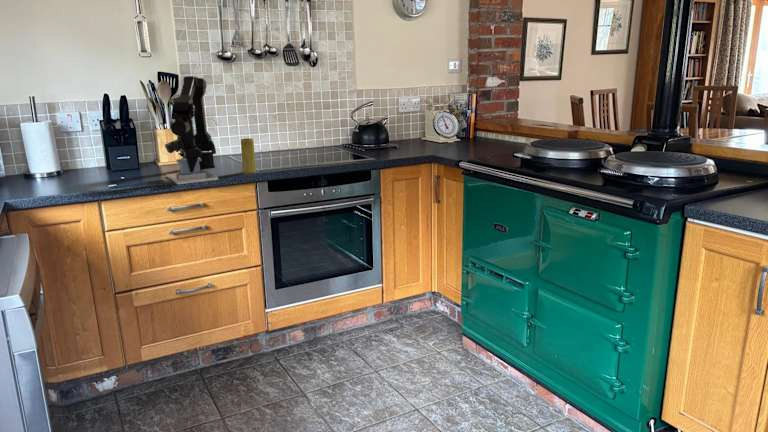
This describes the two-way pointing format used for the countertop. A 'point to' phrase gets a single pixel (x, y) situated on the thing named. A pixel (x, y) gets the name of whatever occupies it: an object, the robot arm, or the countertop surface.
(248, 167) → the vase
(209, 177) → the chassis plate
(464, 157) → the countertop surface
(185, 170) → the block
